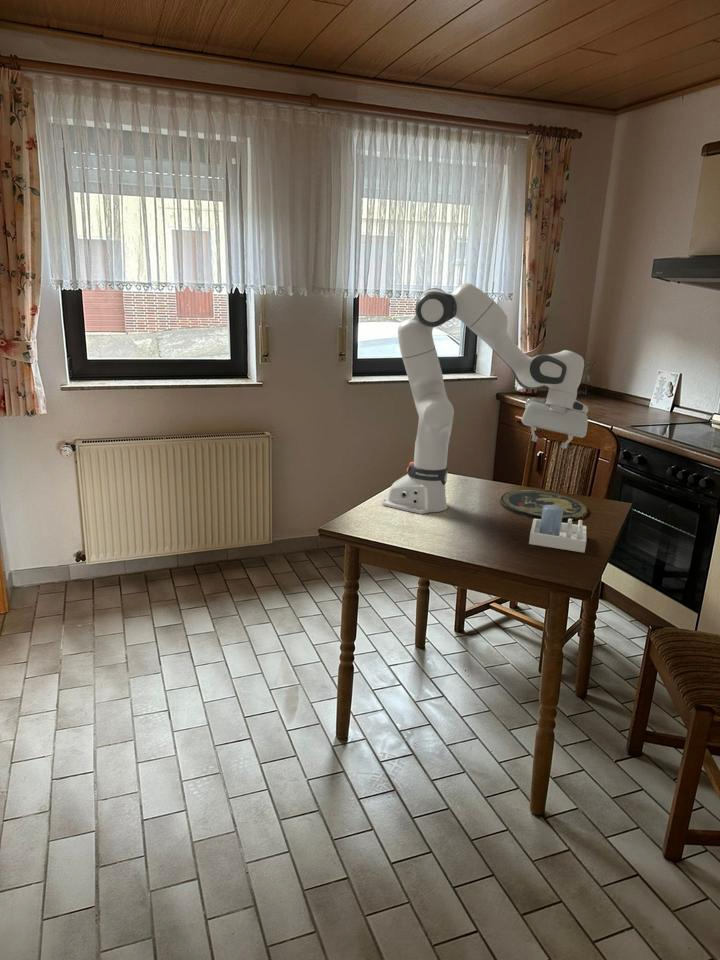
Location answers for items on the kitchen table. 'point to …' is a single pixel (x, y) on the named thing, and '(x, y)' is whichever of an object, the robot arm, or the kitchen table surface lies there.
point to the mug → (551, 520)
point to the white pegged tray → (560, 536)
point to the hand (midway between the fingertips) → (548, 444)
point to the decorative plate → (541, 504)
